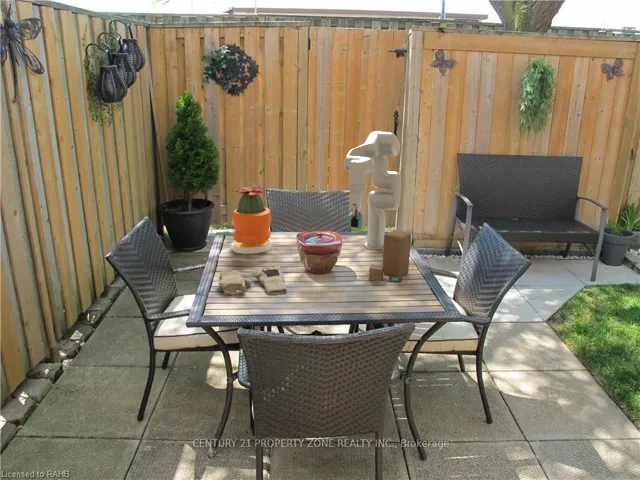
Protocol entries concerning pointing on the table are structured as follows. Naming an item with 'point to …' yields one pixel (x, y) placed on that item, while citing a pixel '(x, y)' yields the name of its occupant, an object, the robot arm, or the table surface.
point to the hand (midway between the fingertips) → (355, 224)
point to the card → (394, 279)
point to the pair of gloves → (238, 284)
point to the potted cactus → (251, 223)
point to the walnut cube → (376, 272)
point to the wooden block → (396, 252)
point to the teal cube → (360, 220)
